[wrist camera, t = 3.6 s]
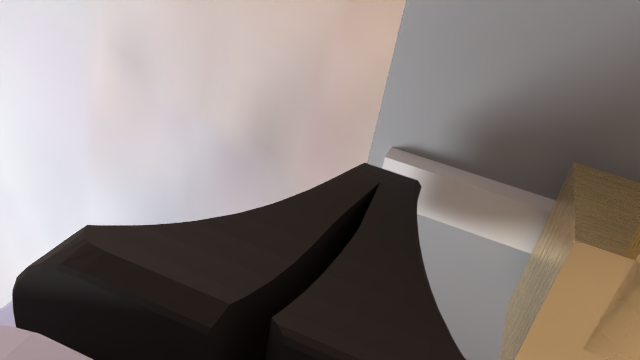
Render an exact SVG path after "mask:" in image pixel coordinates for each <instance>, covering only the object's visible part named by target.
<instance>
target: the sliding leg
mask: <svg viewBox="0 0 640 360" xmlns="http://www.w3.org/2000/svg"><path fill="white" fill-rule="evenodd" d="M500 360H640V182H637V181H634V180H630V179H627V178H624V177H621V176H617V175H614V174H611V173H607V172H604V171H601V170H598V169H594V168H591V167H588V166H585V165H581V164H578V163H575V162H574V163H573V165H572V167H571V169H570V171H569V173H568V175H567V178H566V180H565V182H564V184H563V186H562V188H561V191H560V193H559V195H558V197H557V199H556V201H555V203H554V206H553V208H552V210H551V212H550V214H549V216H548V218H547V221H546V223H545V225H544V227H543V229H542V231H541V234H540V236H539V238H538V240H537V242H536V244H535V246H534V249H533V251H532V253H531V255H530V257H529V259H528V262H527V264H526V266H525V268H524V270H523V272H522V274H521V277H520V279H519V281H518V283H517V285H516V287H515V290H514V292H513V294H512V296H511V298H510V300H509V302H508V305H507V311H506V318H505V325H504V332H503V339H502V346H501V353H500Z"/></svg>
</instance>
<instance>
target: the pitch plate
mask: <svg viewBox="0 0 640 360" xmlns="http://www.w3.org/2000/svg"><path fill="white" fill-rule="evenodd" d="M574 162H575V163H578V164H581V165H585V166H588V167H591V168H594V169H598V170H601V171H604V172H607V173H611V174H614V175H617V176H621V177H624V178H627V179H630V180H634V181H637V182H640V0H406V3H405V7H404V11H403V15H402V20H401V24H400V28H399V32H398V36H397V41H396V45H395V49H394V53H393V57H392V61H391V66H390V70H389V74H388V78H387V82H386V87H385V91H384V95H383V99H382V103H381V107H380V112H379V116H378V120H377V124H376V128H375V133H374V137H373V141H372V145H371V149H370V153H369V158H368V162H367V164H370V165H373V166H376V167H379V168H382V169H385V170H388V171H391V172H394V173H397V174H400V175H403V176H406V177H409V178H412V179H415V180H418V181H419V183H420V185H421V187H422V188H421V191H420V194H419V197H418V202H417V222H418V233H419V241H420V248H421V253H422V258H423V262H424V267H425V271H426V274H427V278H428V281H429V284H430V287H431V290H432V293H433V295H434V298H435V301H436V304H437V306H438V309H439V311H440V313H441V315H442V317H443V319H444V321H445V323H446V325H447V327H448V329H449V331H450V334H451V336H452V338H453V340H454V341H455V343H456V345H457V347H458V348H459V350H460V352H461V353H462V355H463V357H464V358H466V359H468V360H500V353H501V346H502V339H503V332H504V325H505V318H506V311H507V305H508V302H509V300H510V298H511V296H512V294H513V292H514V290H515V287H516V285H517V283H518V281H519V279H520V277H521V274H522V272H523V270H524V268H525V266H526V264H527V262H528V259H529V257H530V255H531V253H532V251H533V249H534V246H535V244H536V242H537V240H538V238H539V236H540V234H541V231H542V229H543V227H544V225H545V223H546V221H547V218H548V216H549V214H550V212H551V210H552V208H553V206H554V203H555V201H556V199H557V197H558V195H559V193H560V191H561V188H562V186H563V184H564V182H565V180H566V178H567V175H568V173H569V171H570V169H571V167H572V165H573V163H574Z"/></svg>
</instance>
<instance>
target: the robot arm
mask: <svg viewBox="0 0 640 360" xmlns="http://www.w3.org/2000/svg"><path fill="white" fill-rule="evenodd" d="M421 188H422V187H421V185H420V183H419V181H418V180H415V179H412V178H409V177H406V176H403V175H400V174H397V173H394V172H391V171H388V170H385V169H382V168H379V167H376V166H373V165H370V164H367V163H363V164H361V165H359V166H357V167H355V168H353V169H351V170H349V171H347V172H345V173H343V174H341V175H339V176H337V177H335V178H333V179H331V180H329V181H327V182H325V183H323V184H320V185H318V186H316V187H314V188H312V189H310V190H307V191H305V192H302V193H300V194H297V195H295V196H292V197H289V198H287V199H284V200H282V201H279V202H276V203H273V204H270V205H267V206H264V207H260V208H256V209H253V210H249V211H245V212H241V213H237V214H232V215H227V216H221V217H215V218H210V219H204V220H199V221H191V222H182V223H172V224H158V225H133V226H98V225H87V226H85V227H84V228H82V229H81V230H79V231H78V232H76V233H75V234H73V235H72V236H71V237H69V238H68V239H66V240H65V241H64V242H62V243H61V244H59V245H58V246H56V247H55V248H54V249H52V250H51V251H49V252H48V253H47V254H45V255H44V256H42V257H41V258H40V259H38V260H37V261H35V262H34V263H32V264H31V265H30V266H28V267H27V268H26V269H25V270H24V271H23V272H22V273H21V274H20V275H19V276H18V277H17V279H16V282H15V285H14V288H13V295H12V296H13V300H12V301H11V302H10V303H8V304H7V305H6V306H4V307H3V308H2V309H0V360H466V359H465V358H464V357H463V355H462V353H461V352H460V350H459V348H458V347H457V345H456V343H455V341H454V340H453V338H452V336H451V334H450V331H449V329H448V327H447V325H446V323H445V321H444V319H443V317H442V315H441V313H440V311H439V309H438V306H437V304H436V301H435V298H434V295H433V293H432V290H431V287H430V284H429V281H428V278H427V274H426V271H425V267H424V262H423V258H422V253H421V248H420V241H419V233H418V222H417V202H418V197H419V194H420V191H421Z"/></svg>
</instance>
